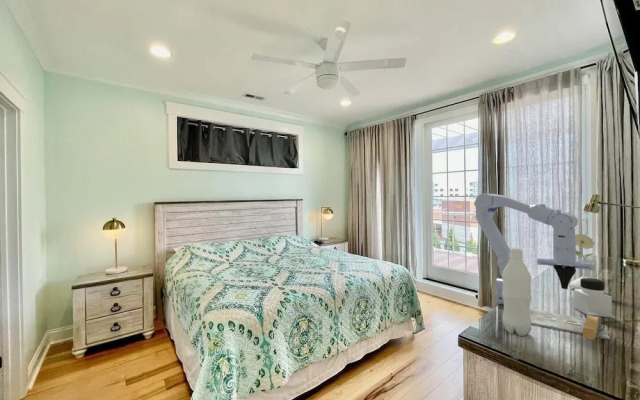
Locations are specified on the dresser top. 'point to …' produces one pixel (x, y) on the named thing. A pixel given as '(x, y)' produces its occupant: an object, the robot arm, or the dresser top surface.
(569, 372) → the dresser top surface
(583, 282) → the medicine bottle
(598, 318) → the tan piece
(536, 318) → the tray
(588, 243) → the flower in vase
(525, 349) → the dresser top surface
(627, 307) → the dresser top surface
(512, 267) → the water bottle
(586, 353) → the dresser top surface
